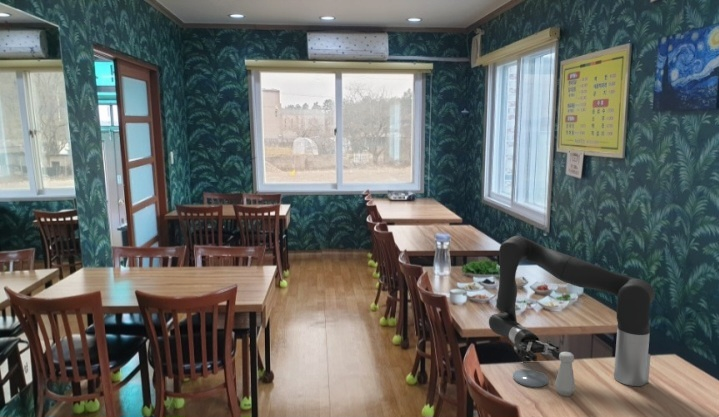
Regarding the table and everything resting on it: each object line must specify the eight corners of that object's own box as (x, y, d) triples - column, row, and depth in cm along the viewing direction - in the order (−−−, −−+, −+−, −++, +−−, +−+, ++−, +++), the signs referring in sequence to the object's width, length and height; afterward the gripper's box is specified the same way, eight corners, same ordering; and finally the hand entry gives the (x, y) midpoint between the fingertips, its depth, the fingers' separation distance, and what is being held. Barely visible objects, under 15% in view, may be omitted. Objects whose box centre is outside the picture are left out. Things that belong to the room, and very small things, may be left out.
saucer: (536, 370, 171) (537, 368, 171) (554, 386, 160) (555, 383, 160) (506, 373, 169) (507, 370, 169) (523, 389, 158) (523, 386, 158)
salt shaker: (576, 398, 152) (578, 358, 151) (556, 396, 154) (558, 356, 152) (572, 389, 158) (574, 350, 156) (553, 387, 159) (555, 348, 157)
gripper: (505, 330, 179) (528, 348, 163) (542, 327, 181) (568, 345, 165) (504, 350, 180) (527, 370, 164) (541, 347, 182) (566, 366, 166)
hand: (547, 357), depth 165 cm, fingers open, 8 cm apart
